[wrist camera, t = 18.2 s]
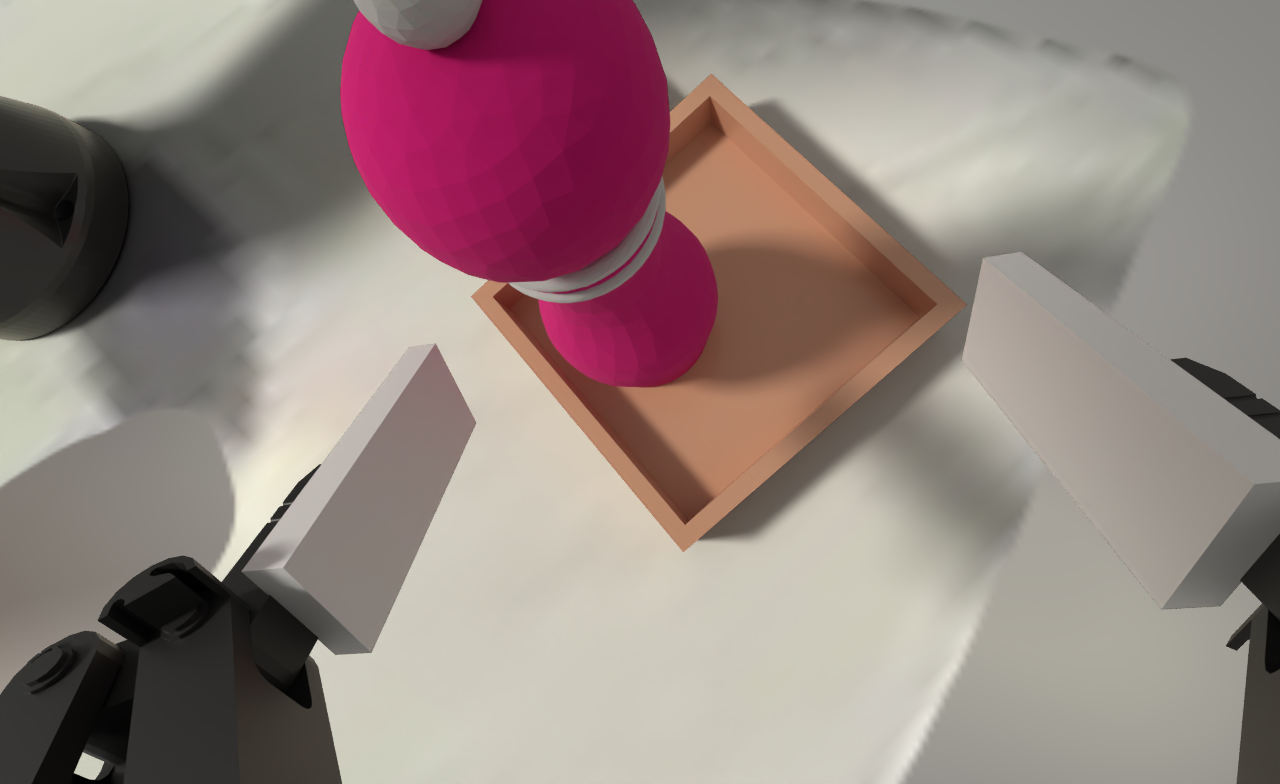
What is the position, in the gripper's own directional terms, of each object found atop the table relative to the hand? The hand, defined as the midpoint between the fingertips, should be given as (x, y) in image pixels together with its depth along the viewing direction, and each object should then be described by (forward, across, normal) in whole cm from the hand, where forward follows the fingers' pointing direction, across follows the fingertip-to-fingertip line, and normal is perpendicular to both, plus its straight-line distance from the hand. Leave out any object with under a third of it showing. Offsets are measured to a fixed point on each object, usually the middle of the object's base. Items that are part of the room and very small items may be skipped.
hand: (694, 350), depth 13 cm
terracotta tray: (+12, 0, +6) cm, 14 cm away
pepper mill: (+11, +3, +6) cm, 13 cm away
